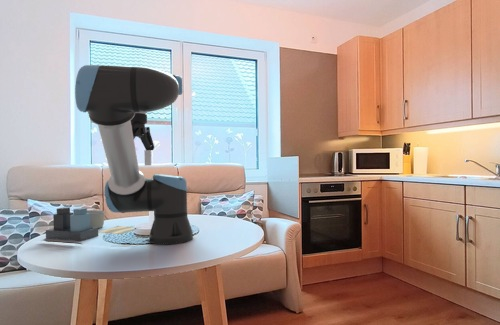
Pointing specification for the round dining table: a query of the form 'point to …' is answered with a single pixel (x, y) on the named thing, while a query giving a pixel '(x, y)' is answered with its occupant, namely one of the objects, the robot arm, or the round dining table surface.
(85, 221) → the plug
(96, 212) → the teacup
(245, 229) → the round dining table surface
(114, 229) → the board
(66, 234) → the dark grey block holder
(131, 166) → the robot arm
